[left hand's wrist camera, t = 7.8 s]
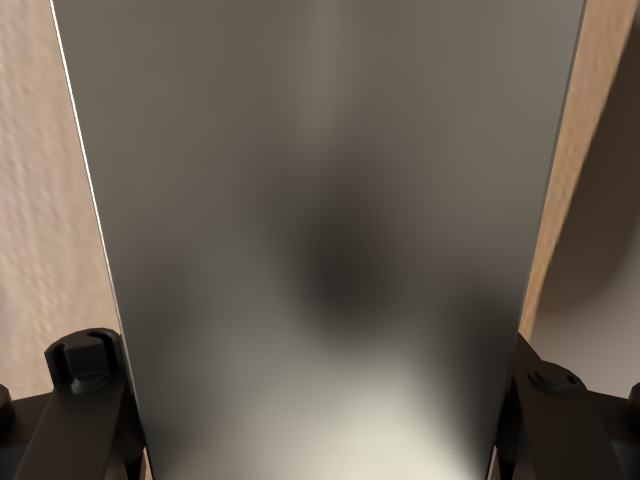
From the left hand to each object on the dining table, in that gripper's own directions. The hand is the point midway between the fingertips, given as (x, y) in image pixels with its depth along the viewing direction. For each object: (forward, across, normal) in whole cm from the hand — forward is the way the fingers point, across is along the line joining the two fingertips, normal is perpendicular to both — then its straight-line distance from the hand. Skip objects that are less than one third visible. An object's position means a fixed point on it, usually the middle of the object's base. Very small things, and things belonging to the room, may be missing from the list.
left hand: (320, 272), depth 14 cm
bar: (+1, 0, -9) cm, 9 cm away
